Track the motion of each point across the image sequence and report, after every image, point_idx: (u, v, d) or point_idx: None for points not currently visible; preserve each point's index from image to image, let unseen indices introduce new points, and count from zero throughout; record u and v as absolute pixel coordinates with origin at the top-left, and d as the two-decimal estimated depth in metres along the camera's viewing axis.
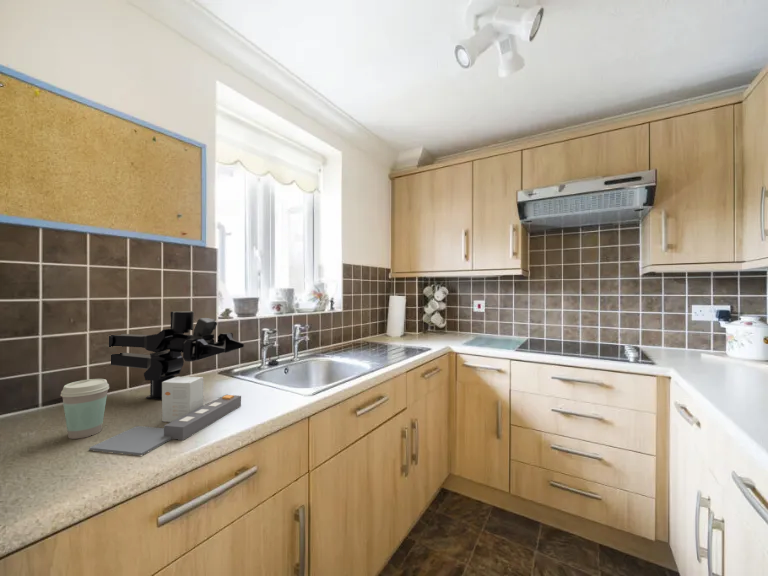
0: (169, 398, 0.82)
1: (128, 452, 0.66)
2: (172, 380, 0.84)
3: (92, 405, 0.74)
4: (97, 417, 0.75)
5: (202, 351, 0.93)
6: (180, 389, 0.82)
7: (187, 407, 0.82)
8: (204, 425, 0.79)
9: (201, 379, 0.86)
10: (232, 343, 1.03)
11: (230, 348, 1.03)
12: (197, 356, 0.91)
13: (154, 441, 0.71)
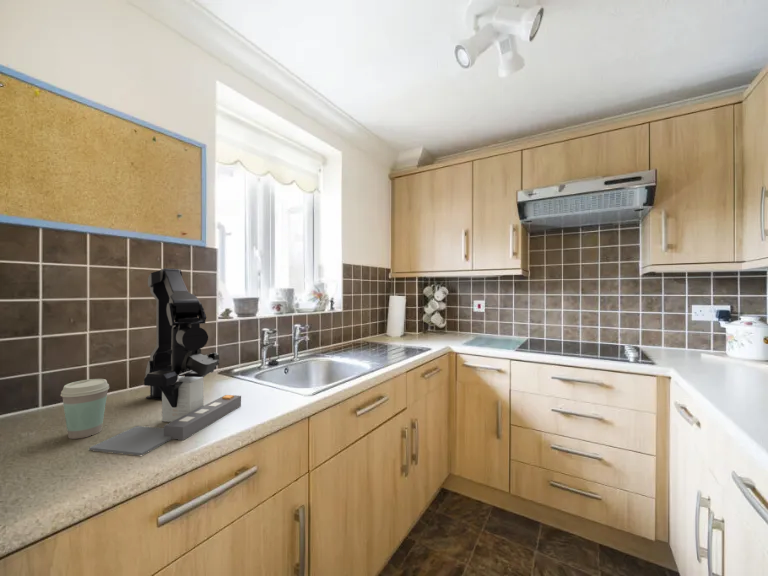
0: None
1: (128, 452, 0.66)
2: None
3: (92, 405, 0.74)
4: (97, 417, 0.75)
5: None
6: (180, 389, 0.82)
7: (187, 407, 0.82)
8: (204, 425, 0.79)
9: (201, 379, 0.86)
10: None
11: None
12: None
13: (154, 441, 0.71)
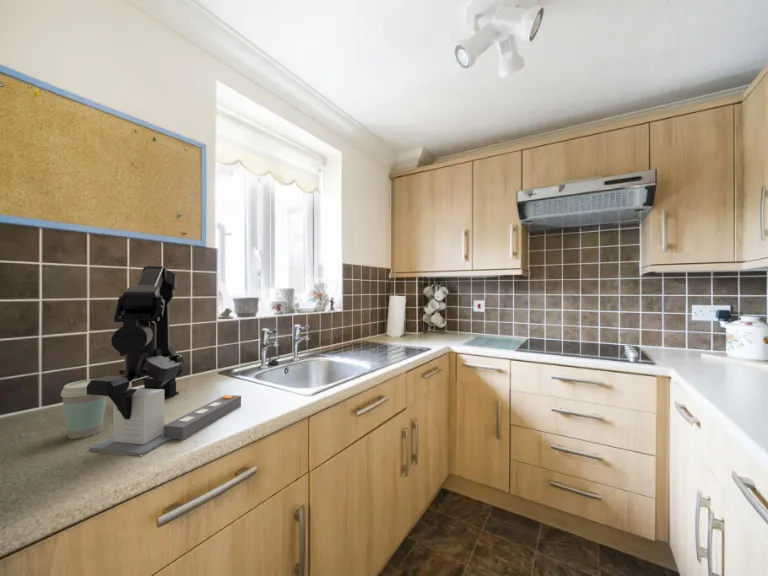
0: (121, 414, 0.70)
1: (128, 452, 0.66)
2: None
3: (92, 405, 0.74)
4: (97, 417, 0.75)
5: None
6: (133, 404, 0.69)
7: (141, 426, 0.69)
8: (204, 425, 0.79)
9: (161, 392, 0.73)
10: None
11: (147, 387, 0.76)
12: None
13: (154, 441, 0.71)
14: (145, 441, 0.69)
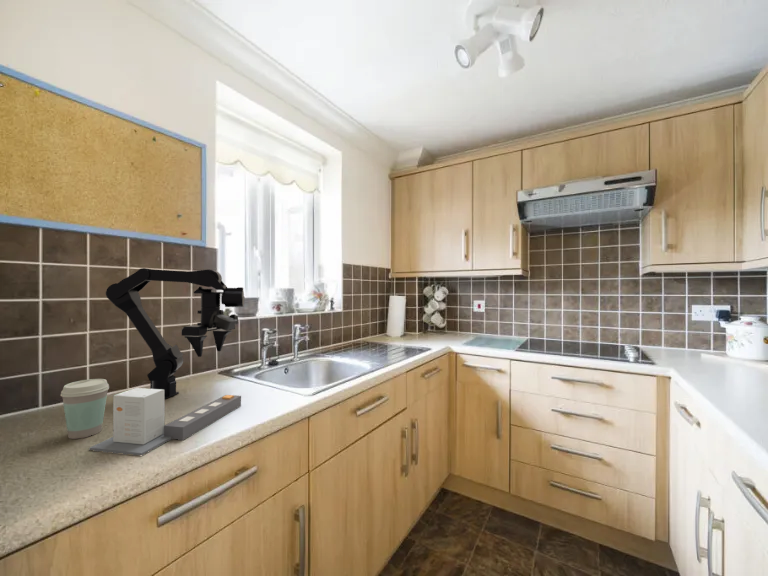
0: (121, 414, 0.70)
1: (128, 452, 0.66)
2: (126, 393, 0.71)
3: (92, 405, 0.74)
4: (97, 417, 0.75)
5: (195, 337, 1.00)
6: (133, 404, 0.69)
7: (141, 426, 0.69)
8: (204, 425, 0.79)
9: (161, 392, 0.73)
10: (220, 339, 1.11)
11: (216, 336, 1.11)
12: (188, 337, 0.99)
13: (154, 441, 0.71)
14: (145, 441, 0.69)
